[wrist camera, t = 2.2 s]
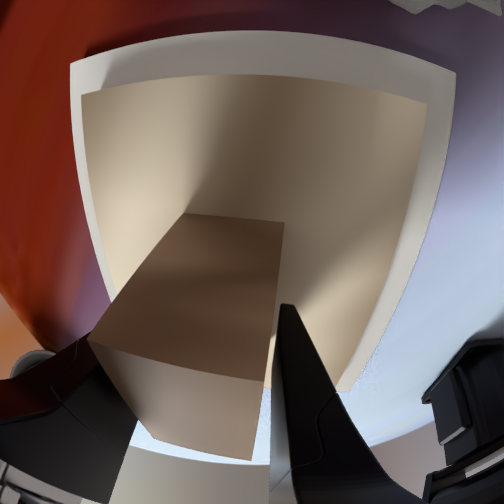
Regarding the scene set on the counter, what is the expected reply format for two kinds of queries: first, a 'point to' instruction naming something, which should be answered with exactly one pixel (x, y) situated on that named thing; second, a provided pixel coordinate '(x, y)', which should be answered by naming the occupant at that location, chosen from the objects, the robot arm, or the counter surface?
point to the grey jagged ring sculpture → (448, 5)
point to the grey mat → (293, 65)
